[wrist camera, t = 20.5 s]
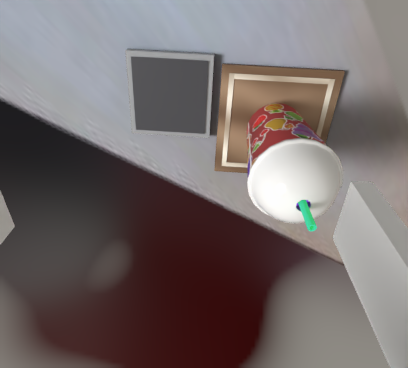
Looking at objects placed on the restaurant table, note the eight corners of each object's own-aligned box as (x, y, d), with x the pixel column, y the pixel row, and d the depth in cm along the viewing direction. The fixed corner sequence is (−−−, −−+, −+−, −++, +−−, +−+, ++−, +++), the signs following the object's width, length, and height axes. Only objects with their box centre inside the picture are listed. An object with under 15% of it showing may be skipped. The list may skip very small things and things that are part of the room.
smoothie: (234, 151, 42) (243, 261, 25) (246, 88, 38) (268, 170, 21) (296, 159, 42) (347, 274, 25) (315, 98, 38) (393, 187, 21)
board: (222, 63, 37) (222, 64, 36) (343, 70, 37) (345, 71, 36) (214, 168, 44) (214, 171, 44) (315, 175, 44) (316, 177, 43)
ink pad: (127, 49, 37) (124, 50, 36) (214, 53, 36) (214, 55, 35) (133, 130, 42) (131, 133, 41) (209, 135, 42) (209, 138, 41)
